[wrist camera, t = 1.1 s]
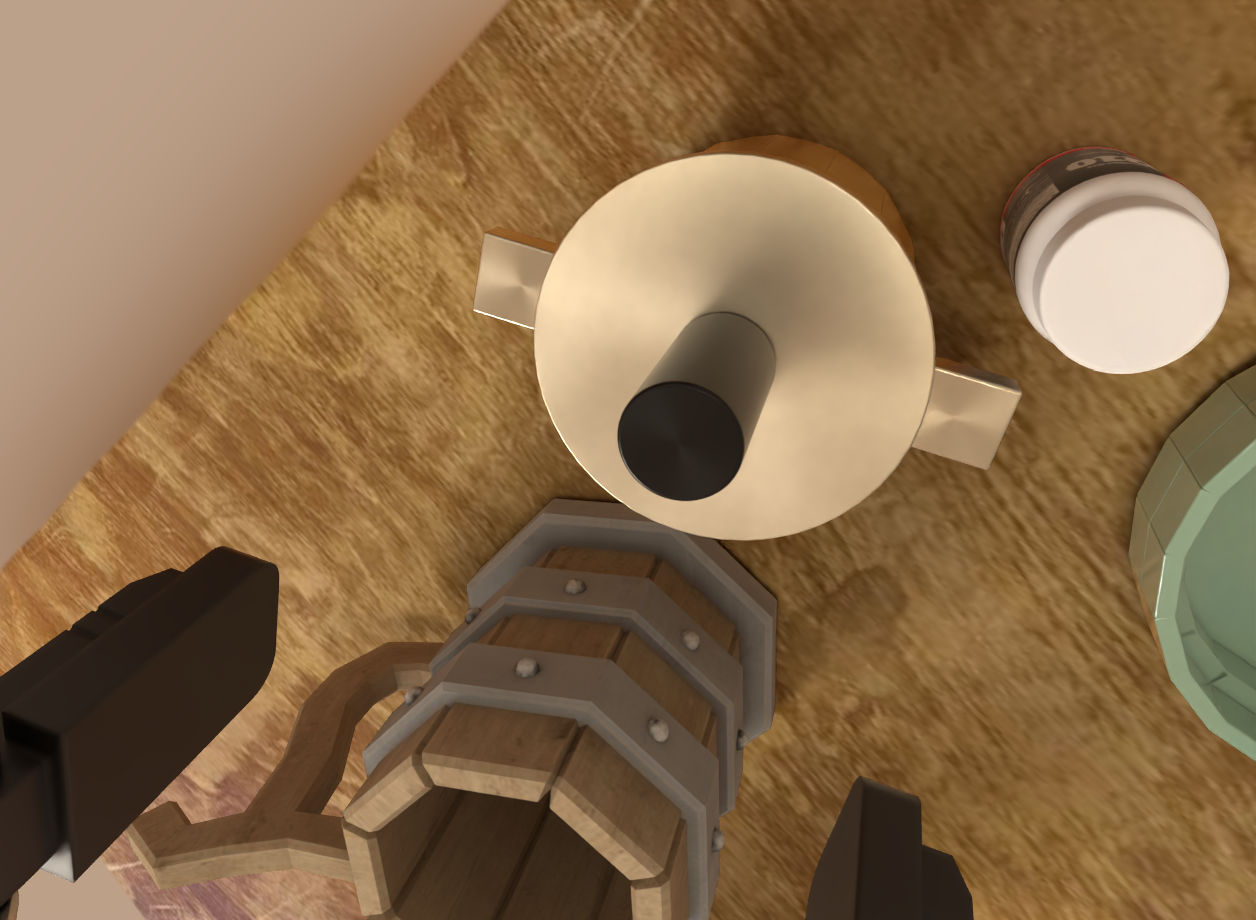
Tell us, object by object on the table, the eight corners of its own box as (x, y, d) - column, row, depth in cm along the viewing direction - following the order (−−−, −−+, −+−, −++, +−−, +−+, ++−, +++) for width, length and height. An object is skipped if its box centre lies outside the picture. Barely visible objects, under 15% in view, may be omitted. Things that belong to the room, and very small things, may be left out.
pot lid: (585, 99, 25) (484, 123, 19) (1000, 212, 23) (1030, 276, 17) (518, 459, 29) (422, 566, 24) (856, 571, 28) (843, 715, 22)
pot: (586, 80, 32) (493, 97, 24) (1047, 204, 29) (1090, 261, 22) (536, 351, 36) (445, 431, 29) (933, 476, 34) (939, 594, 27)
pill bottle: (1199, 177, 28) (1302, 233, 21) (1112, 322, 30) (1177, 418, 23) (1044, 121, 29) (1091, 156, 21) (970, 267, 31) (989, 345, 23)
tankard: (778, 512, 36) (701, 794, 23) (775, 773, 41) (710, 1126, 28) (313, 477, 41) (33, 692, 28) (362, 713, 46) (144, 987, 33)
